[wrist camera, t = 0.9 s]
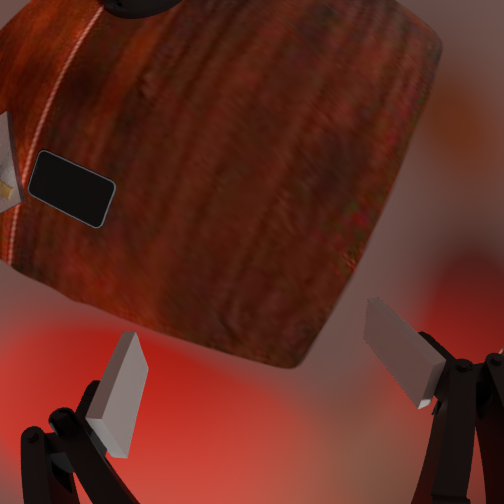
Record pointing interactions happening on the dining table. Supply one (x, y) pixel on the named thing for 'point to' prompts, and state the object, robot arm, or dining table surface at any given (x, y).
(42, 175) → the smartphone
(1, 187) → the socket
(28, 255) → the dining table surface
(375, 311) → the robot arm
